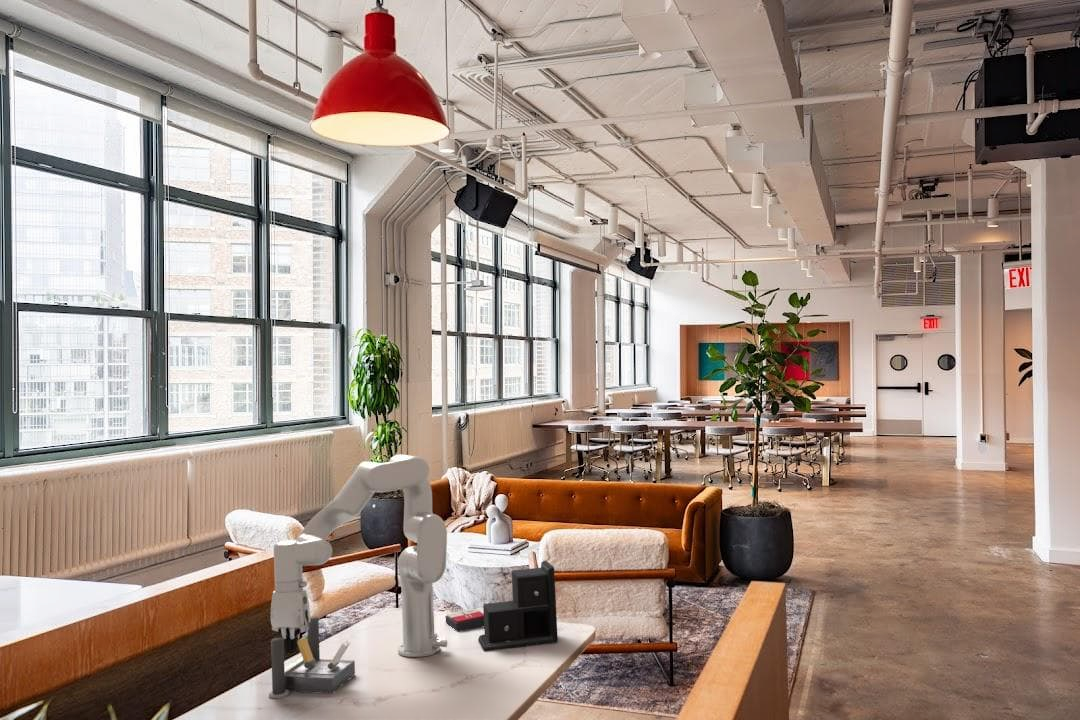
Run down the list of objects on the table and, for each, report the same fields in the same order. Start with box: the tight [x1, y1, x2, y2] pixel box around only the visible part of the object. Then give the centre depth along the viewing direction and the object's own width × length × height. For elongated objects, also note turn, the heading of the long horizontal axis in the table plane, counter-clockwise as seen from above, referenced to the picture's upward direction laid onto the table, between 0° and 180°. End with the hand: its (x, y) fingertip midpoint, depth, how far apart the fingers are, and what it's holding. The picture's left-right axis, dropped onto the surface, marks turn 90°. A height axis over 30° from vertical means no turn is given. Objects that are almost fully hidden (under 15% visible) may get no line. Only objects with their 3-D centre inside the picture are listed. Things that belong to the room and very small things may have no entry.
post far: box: [306, 615, 321, 659], centre depth 246 cm, size 5×5×15 cm
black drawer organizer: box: [477, 560, 559, 652], centre depth 264 cm, size 23×11×24 cm, turn 103°
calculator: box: [445, 606, 484, 632], centre depth 286 cm, size 11×4×15 cm
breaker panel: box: [284, 656, 356, 694], centre depth 234 cm, size 16×14×5 cm
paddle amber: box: [297, 636, 316, 668], centre depth 235 cm, size 2×4×8 cm, turn 168°
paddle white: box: [328, 640, 351, 669], centre depth 233 cm, size 2×4×8 cm
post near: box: [268, 637, 290, 700], centre depth 226 cm, size 5×5×15 cm
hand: (291, 651), depth 236 cm, fingers closed
